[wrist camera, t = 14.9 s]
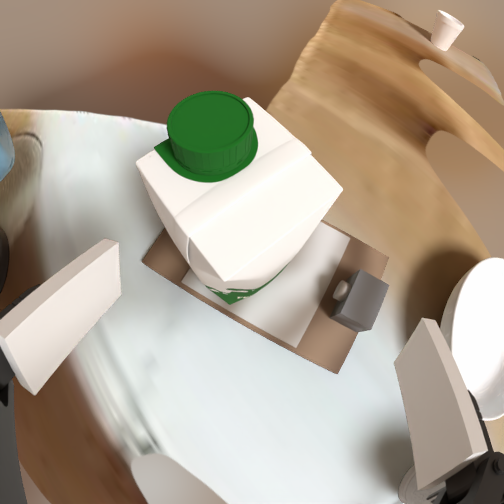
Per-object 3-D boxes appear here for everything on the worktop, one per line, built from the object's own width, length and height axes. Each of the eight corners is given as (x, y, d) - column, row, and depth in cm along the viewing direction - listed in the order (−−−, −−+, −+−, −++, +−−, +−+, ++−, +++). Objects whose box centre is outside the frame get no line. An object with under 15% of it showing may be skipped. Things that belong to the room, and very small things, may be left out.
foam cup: (421, 37, 57) (433, 8, 45) (433, 37, 59) (444, 11, 46) (444, 54, 54) (458, 25, 42) (454, 53, 56) (468, 27, 44)
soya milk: (240, 206, 32) (252, 61, 13) (292, 267, 31) (379, 173, 12) (177, 252, 30) (106, 139, 11) (228, 318, 29) (219, 300, 10)
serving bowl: (515, 293, 31) (543, 282, 24) (493, 418, 24) (522, 421, 18) (433, 250, 33) (462, 232, 27) (398, 406, 27) (429, 415, 20)
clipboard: (144, 264, 32) (128, 250, 27) (212, 169, 36) (208, 145, 32) (334, 373, 28) (350, 377, 23) (385, 259, 32) (404, 246, 28)
